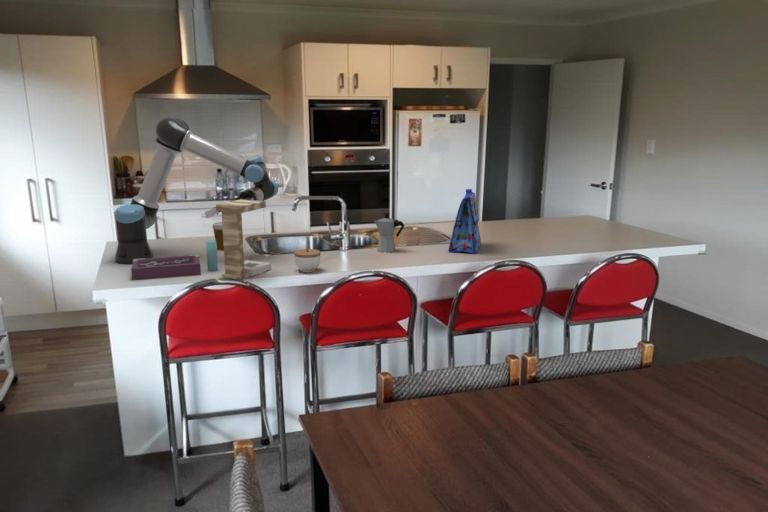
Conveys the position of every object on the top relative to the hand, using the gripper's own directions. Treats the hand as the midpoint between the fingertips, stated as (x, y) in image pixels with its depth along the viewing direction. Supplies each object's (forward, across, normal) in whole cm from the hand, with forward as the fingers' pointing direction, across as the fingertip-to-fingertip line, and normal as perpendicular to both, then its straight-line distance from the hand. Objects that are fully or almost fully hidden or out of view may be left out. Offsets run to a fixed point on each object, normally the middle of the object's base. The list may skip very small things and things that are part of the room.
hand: (216, 212), depth 242 cm
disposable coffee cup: (-18, +26, -20) cm, 37 cm away
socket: (+6, -14, -25) cm, 29 cm away
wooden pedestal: (+10, -14, -25) cm, 30 cm away
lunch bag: (-78, -66, -55) cm, 116 cm away
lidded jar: (-7, -32, -33) cm, 46 cm away
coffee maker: (-54, -39, -44) cm, 80 cm away
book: (+25, +12, -16) cm, 32 cm away
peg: (+12, 0, -21) cm, 24 cm away
